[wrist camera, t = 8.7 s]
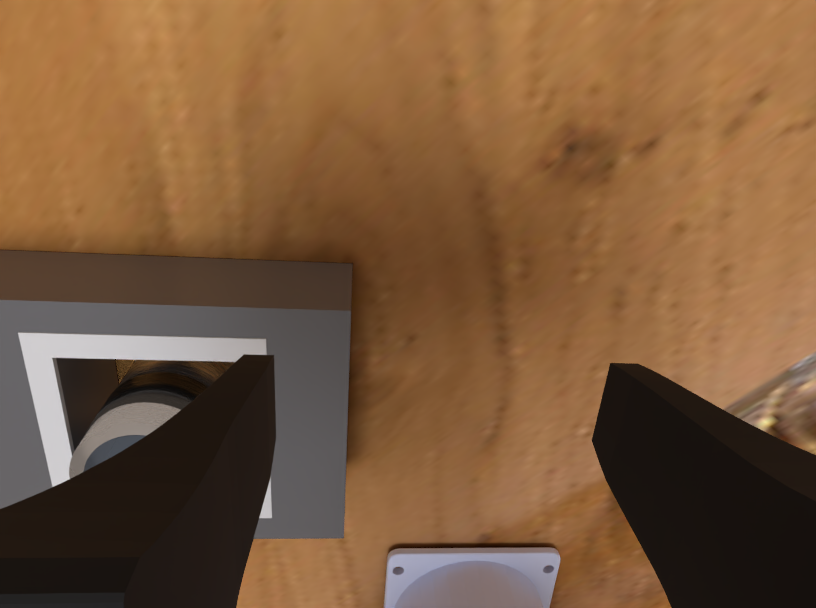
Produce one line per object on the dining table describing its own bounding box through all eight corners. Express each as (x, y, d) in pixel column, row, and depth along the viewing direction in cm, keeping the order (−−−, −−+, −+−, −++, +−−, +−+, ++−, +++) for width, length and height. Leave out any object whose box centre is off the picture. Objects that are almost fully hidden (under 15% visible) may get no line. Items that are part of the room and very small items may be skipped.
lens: (245, 421, 24) (212, 538, 18) (138, 411, 23) (70, 529, 18) (252, 330, 22) (218, 429, 16) (136, 317, 21) (62, 415, 16)
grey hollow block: (346, 464, 25) (343, 539, 21) (45, 462, 24) (-13, 541, 20) (352, 263, 21) (351, 311, 17) (-4, 249, 20) (-86, 297, 16)
